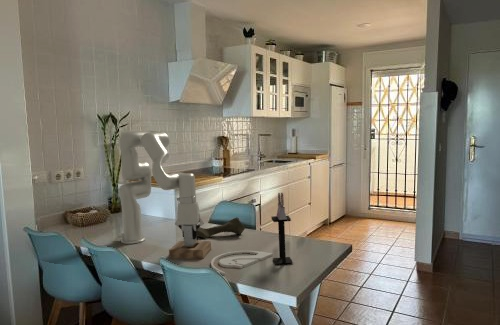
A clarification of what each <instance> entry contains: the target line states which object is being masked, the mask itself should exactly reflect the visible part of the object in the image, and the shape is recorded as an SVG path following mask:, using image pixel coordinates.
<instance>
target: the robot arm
mask: <svg viewBox="0 0 500 325" xmlns="http://www.w3.org/2000/svg"><path fill="white" fill-rule="evenodd" d="M118 144H119V149H120V155H121V156H120V157H121V160H120V161H121V166H120V168H121V177H122V179H123V180H124V181H131V182H126V183H123V184H121V185H120V186H119V187H118V196H119V199H120V200H119V201H120V204H121V215H122V216H121V217H122V230H123V232H118V233H117V238H121V240H120V242H121V244H126V245H127V244H128V245H131V244H138V243H141V242H145V240H146V236H144V235H143V227H142V226H143V224H142V211H141V210H142V209H141V205H140V203H138V201H137V200H140V199H145V198H147V197H149V196H150V195H151V193H152V177H153V179H154V180H155V182H156V184H157V186H158V187H159V188H160V189H161V190H163V191H170V190H175V189H176V190H177V189H178V191H179V194H178V195H179V196H178V197H177V198H176V201H178V202H179V203H178V204H177V210H176V211H177V213H176V214H177V215H176V218H177V219H176V221H175V223H174V225H175V226H176V227H178V228H179V229H180V230H181V231H182V232H181V233H182V238H184V231H183V226H184V225H193V228H194V231H193V239H196V240H197V238H198V236H197V229H198V228H199V227H201V226H203V225H204V224H205V222H204V220H202V218H201V213H200V212H201V211H200V207H199V203H198V202H197V193H196V177H195V174H194V173H190V172H189V173H188V172H187V173H185V172H181V171H180V172H178V171H177V172H172V173H166V172H165V171H164V169H163V167H162V165H163V164H164V163H166V162H167V160H169V157H170V154H169V152H168V150H167V147H168V146H169V144H170V138H169V136H168V134H167V133H166V132H165V131H158V130H129V131H125V132H123V133H122V134H121V135H120V137H119V140H118ZM136 148H143V149H145V151H146V153H147V154H148V156H149V158H150V159H151V161H152V162H153V163H152V167H151V165H150V164H149V163H148V162H147V161H145V160H144V161H143V160H141V161H139V153H138V151H137V149H136ZM135 180H138V181H135Z"/></svg>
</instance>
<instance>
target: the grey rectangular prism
mask: <svg viewBox="0 0 500 325" xmlns="http://www.w3.org/2000/svg"><path fill="white" fill-rule="evenodd" d="M183 231H184V237H183V241H184V247H193V246H194V245H195V244H196V243H197V241H198V240H197V238H196V239H193V231H194V228H193V225H184V226H183Z"/></svg>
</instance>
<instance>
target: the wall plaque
mask: <svg viewBox="0 0 500 325" xmlns="http://www.w3.org/2000/svg"><path fill="white" fill-rule="evenodd" d="M242 253H250V255H243V254H242ZM233 254H234V255H236V256H234V255H233ZM255 254H256V255H255ZM228 255H229V256H230V257H228ZM238 255H239V256H238ZM224 257H225V258H224ZM271 257H274V253H271V252H266V251H257V250H237V251H229V252H224V253H221V254H218V255H216V256H214V257H213V258H211V260H210V267H211V269H212V268H213V269H215V270H217V271H219V272H220V273H221V274H222V276H225V275H226V272H225V271H223V270H221V269H219V268H217V267H216V266H215V265H214V263H216V261H217V260H219V262H218V263H219V266H220V267H222V268H227V269H228V268H232V269H233V268H235V269H243V268H247V267H248V266H251V265H254V264H256V263H258V262H259V261H264V260H268V259H269V258H271ZM213 269H212V270H213ZM221 274H220V275H221Z"/></svg>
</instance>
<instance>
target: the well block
mask: <svg viewBox="0 0 500 325" xmlns="http://www.w3.org/2000/svg"><path fill="white" fill-rule="evenodd" d="M196 241H197V243H196V244H195V245H194V246H193V247H184V240H179V241H178V242H176V243H175V244H174V245H173V246H171V247H170V248H169V249H168V256H169V258H168V259H175V260H176V259H181V260H182V259H184V260H189V259H190V260H192V259H194V260H195V259H196V260H197V259H199V260H201V259H202V260H204V259H205V257H206V256H207V255H208V254H209V253H210V252H211V250H212V241H211V240H210V241H208V240H199V241H198V240H196Z"/></svg>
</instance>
